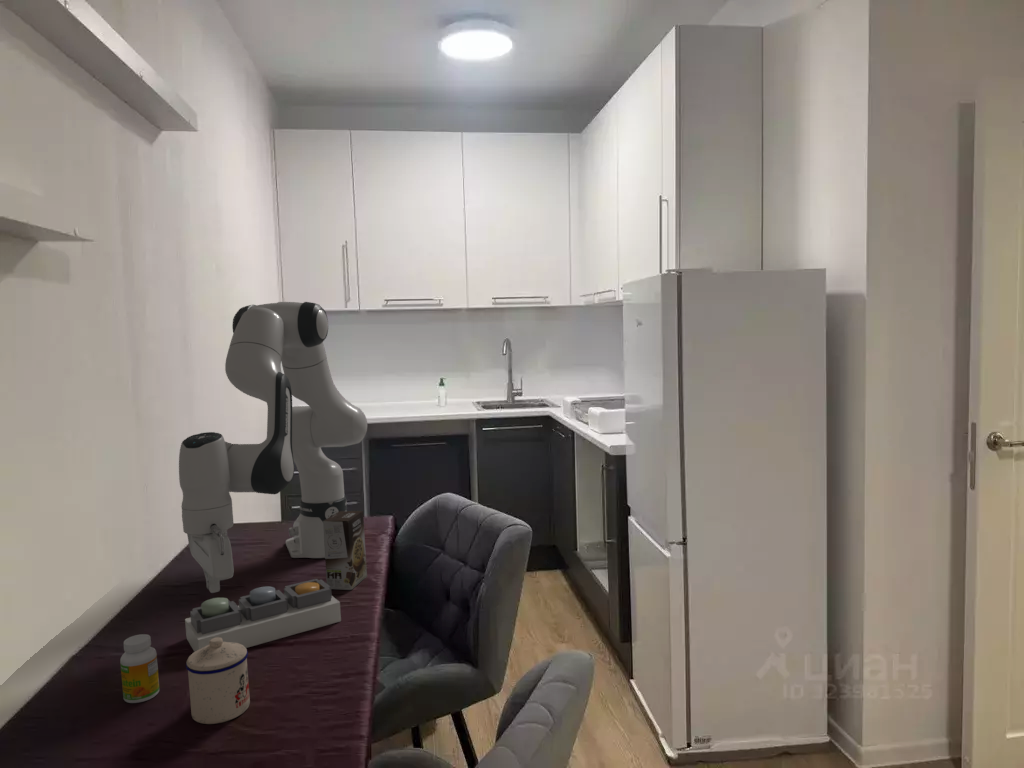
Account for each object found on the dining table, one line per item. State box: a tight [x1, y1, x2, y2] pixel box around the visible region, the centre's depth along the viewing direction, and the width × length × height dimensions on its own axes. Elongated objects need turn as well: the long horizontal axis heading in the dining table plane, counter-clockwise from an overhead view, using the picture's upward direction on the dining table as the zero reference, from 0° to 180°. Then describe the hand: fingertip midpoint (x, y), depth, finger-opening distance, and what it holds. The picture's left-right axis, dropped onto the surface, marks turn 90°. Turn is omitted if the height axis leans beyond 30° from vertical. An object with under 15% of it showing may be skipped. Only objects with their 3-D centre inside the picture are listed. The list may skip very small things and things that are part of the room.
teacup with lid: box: [185, 637, 251, 725], centre depth 116 cm, size 12×9×12 cm
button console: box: [184, 578, 342, 653], centre depth 144 cm, size 12×27×6 cm, turn 125°
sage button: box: [200, 597, 229, 618], centre depth 139 cm, size 5×5×2 cm
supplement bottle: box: [119, 633, 160, 704], centre depth 120 cm, size 5×5×10 cm
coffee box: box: [323, 510, 368, 591], centre depth 168 cm, size 9×6×16 cm
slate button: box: [249, 586, 276, 605], centre depth 144 cm, size 5×5×2 cm
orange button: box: [295, 582, 320, 595], centre depth 149 cm, size 5×5×2 cm
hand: (213, 590), depth 138 cm, fingers closed
